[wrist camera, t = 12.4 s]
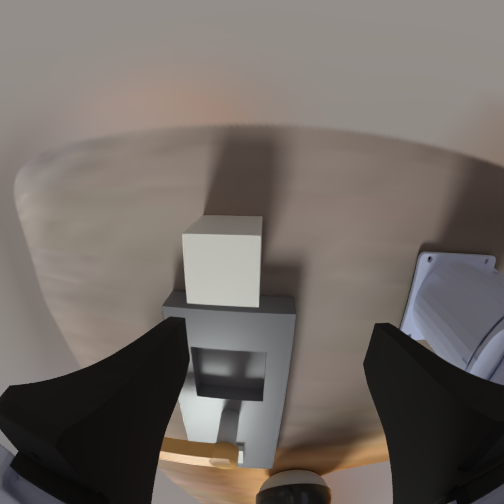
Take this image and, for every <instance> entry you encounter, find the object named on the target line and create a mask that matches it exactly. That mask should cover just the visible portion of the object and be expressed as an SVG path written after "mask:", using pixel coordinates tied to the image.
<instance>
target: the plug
mask: <svg viewBox="0 0 504 504" xmlns="http://www.w3.org/2000/svg"><path fill="white" fill-rule="evenodd" d="M262 217H263V216H225V215H203V216H202V217H200V218H199V219H198V220H197V221H196V222H195V223H194V224H192V225H191V226H190V227H189V228H188V229H187V230H186V231H185V232H183V233H182V240H183V258H184V272H185V285H186V297H187V303H191V304H205V305H222V306H241V307H259V295H260V278H261V251H262Z"/></svg>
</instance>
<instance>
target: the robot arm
mask: <svg viewBox="0 0 504 504" xmlns="http://www.w3.org/2000/svg"><path fill="white" fill-rule="evenodd" d="M429 256H430V260H429V261H428V257H429ZM485 260H486V261H485ZM495 262H496V258H495V257H494V256H492V255H478V254H461V253H444V252H426V251H424V252H421V253H420V254H419V256H418V260H417V265H416V270H415V274H414V279H413V283H412V287H411V291H410V295H409V299H408V303H407V306H406V310H405V313H404V317H403V320H402V323H401V327H400V329H398V328H396V327H395V326H393V325H392V324H390V323H375V325H374V329H373V333H372V336H371V340H370V343H369V347H368V350H367V353H366V357H365V360H364V363H363V366H364V370H365V375H366V380H367V384H368V387H369V390H370V393H371V395H372V398H373V401H374V404H375V406H376V409H377V412H378V415H379V417H380V420H381V423H382V426H383V429H384V432H385V436H386V441H387V446H388V451H389V457H390V464H391V472H392V485H393V504H504V274H502V273H501V272H499V271H498V270H496V269H495V268H494V266H495ZM408 334H409V335H408ZM422 339H426V341H427V342H428V343H429V345H430V346H431V347H432V349H433V350H434V351H435V353H436V354H437V355H436V354H434V353H433V352H431V351H430V350H428V349H427V348H425V347H424V346H422V345H421V344H420V343H418V342H417V341H415V340H422ZM189 362H190V355H189V347H188V338H187V330H186V320H185V318H182V317H172V316H170V317H168V318H167V319H165V320H164V321H162V322H161V323H159V324H158V325H157V326H155V327H154V328H152V329H151V330H150V331H148V332H147V333H145V334H144V335H143V336H141V337H140V338H138V339H137V340H135V341H134V342H132V343H131V344H129V345H128V346H126V347H124V348H123V349H121V350H119V351H118V352H116V353H115V354H113V355H111V356H109V357H107V358H105V359H104V360H101V361H99V362H97V363H95V364H93V365H91V366H89V367H86V368H83V369H81V370H78V371H75V372H73V373H70V374H67V375H64V376H61V377H57V378H54V379H50V380H45V381H41V382H36V383H29V384H22V385H12V386H9V387H8V388H7V389H6V391H5V392H4V393H3V394H2V395H1V397H0V429H1V431H2V432H3V433H4V434H5V436H6V437H7V438H8V439H9V440H10V441H11V443H12V444H13V445H14V446H15V447H16V448H17V450H18V453H17V454H16V456H14V455H13V454H12V453H11V452H10V451H9V450H7V449H6V448H5V447H4V446H2V445H1V444H0V504H151V500H152V493H153V487H154V480H155V475H156V469H157V465H158V460H159V455H160V451H161V447H162V443H163V439H164V435H165V431H166V428H167V425H168V423H169V420H170V418H171V415H172V413H173V410H174V408H175V405H176V403H177V400H178V398H179V395H180V392H181V390H182V387H183V385H184V382H185V379H186V375H187V371H188V366H189Z"/></svg>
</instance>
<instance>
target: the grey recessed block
mask: <svg viewBox="0 0 504 504" xmlns="http://www.w3.org/2000/svg"><path fill="white" fill-rule="evenodd" d="M162 308H163V316H164V320H165V319H167V318H168V317H170V316H172V317H182V318H185V320H186V330H187V338H188V347H189V355H190V362H189V366H188V371H187V375H186V379H185V382H184V385H183V387H182V390H181V392H180V395H179V398H178V399H179V403H180V408H181V412H182V416H183V420H184V424H185V428H186V432H187V436H188V440H189V441H195V442H205V443H217V442H227V443H231V444H234V445H236V446H237V447H238V448H239V457H238V465H237V467H243V468H263V469H272V467H273V462H274V457H275V451H276V446H277V441H278V435H279V430H280V424H281V418H282V412H283V406H284V400H285V394H286V387H287V380H288V374H289V367H290V359H291V352H292V344H293V336H294V328H295V320H296V310H295V304H294V299H293V297H283V296H259V307H241V306H222V305H205V304H191V303H187V297H186V291H175V290H173V291H172V292H171V294H170V295H169V297H168V298H167V300H166V301H165V303H164V304H163V306H162Z"/></svg>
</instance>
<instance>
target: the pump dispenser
mask: <svg viewBox="0 0 504 504" xmlns="http://www.w3.org/2000/svg"><path fill="white" fill-rule="evenodd" d="M256 504H332V494H331V489H330V488H329V487H328V486H327V484H326V482H325V481H324V479H323V478H322V477H320V476H319V475H318V474H316V473H314V472H311V471H307V470H287V471H283V472H280V473H277V474H275V475H273V476H271V477H269V478H268V479H267V480H266V481H265V482H264V483H263V485H262V486H261V488H260V491H259V493H258V494H257V495H256Z"/></svg>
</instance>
